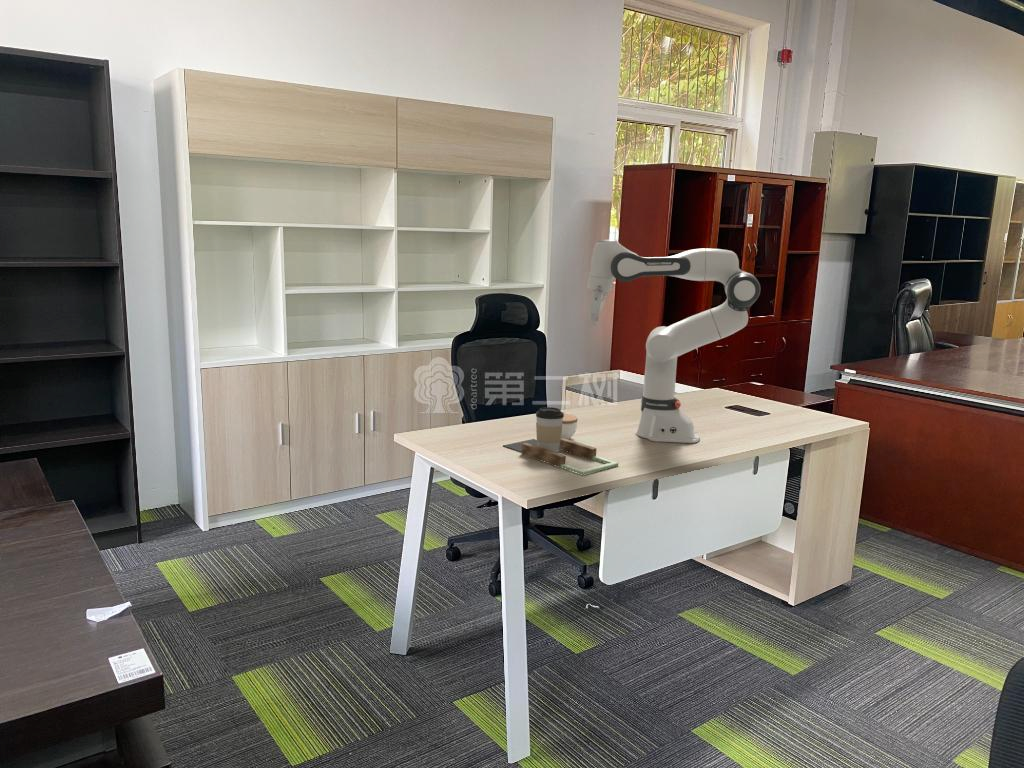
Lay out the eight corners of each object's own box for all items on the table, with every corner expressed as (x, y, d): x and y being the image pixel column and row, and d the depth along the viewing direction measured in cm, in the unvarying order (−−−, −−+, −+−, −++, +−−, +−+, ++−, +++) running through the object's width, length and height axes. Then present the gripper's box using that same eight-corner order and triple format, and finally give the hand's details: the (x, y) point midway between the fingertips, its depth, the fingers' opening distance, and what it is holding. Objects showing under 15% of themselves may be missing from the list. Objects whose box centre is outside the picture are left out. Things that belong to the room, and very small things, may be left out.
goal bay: (560, 467, 230) (560, 464, 230) (595, 458, 241) (595, 455, 241) (582, 475, 223) (583, 472, 223) (618, 465, 234) (618, 462, 234)
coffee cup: (534, 448, 251) (536, 404, 248) (561, 449, 250) (563, 405, 247) (534, 456, 242) (536, 411, 239) (562, 457, 241) (564, 411, 239)
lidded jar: (544, 434, 269) (545, 409, 267) (573, 434, 270) (575, 409, 268) (548, 442, 258) (549, 416, 256) (579, 442, 259) (580, 416, 257)
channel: (521, 454, 244) (521, 443, 243) (556, 446, 254) (557, 436, 253) (560, 467, 230) (561, 456, 230) (595, 458, 241) (596, 448, 240)
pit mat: (503, 446, 252) (503, 445, 252) (533, 439, 261) (533, 438, 261) (520, 452, 245) (520, 451, 245) (551, 445, 254) (551, 444, 254)
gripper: (606, 288, 256) (600, 328, 259) (610, 284, 275) (604, 321, 278) (588, 285, 257) (582, 325, 260) (593, 281, 276) (587, 318, 279)
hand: (593, 323), depth 269 cm, fingers open, 8 cm apart
